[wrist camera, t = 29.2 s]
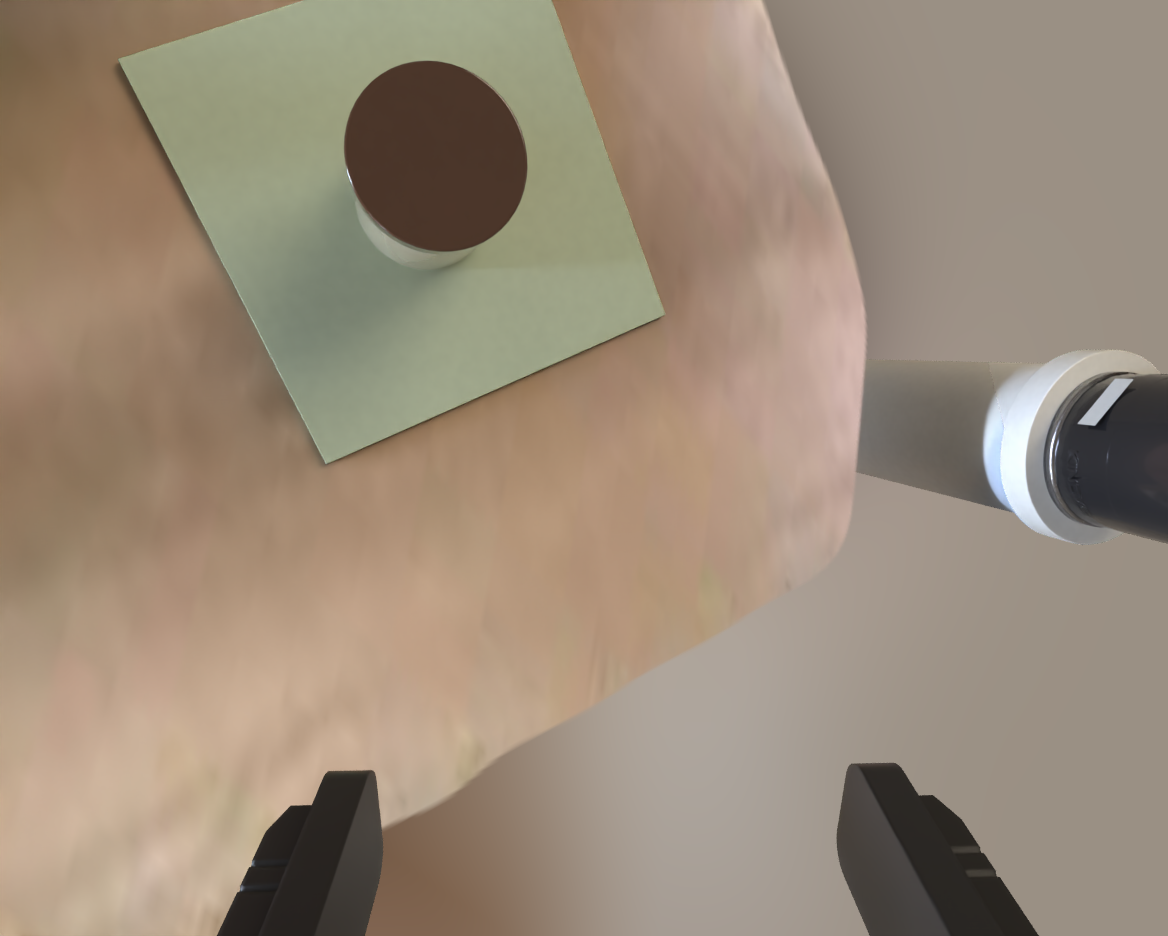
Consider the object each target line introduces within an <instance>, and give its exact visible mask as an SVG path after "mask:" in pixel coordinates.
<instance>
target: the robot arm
mask: <svg viewBox="0 0 1168 936" xmlns="http://www.w3.org/2000/svg"><path fill="white" fill-rule="evenodd" d="M1043 470H1044V478H1045V483H1046V486H1047V490H1048V492H1049V495H1050V497H1051V499H1052V501H1053V502H1054V504H1055V505H1056V507H1057V508H1058V509H1059V510H1060V511H1061V512H1062V513H1063V514H1064V515H1065V516H1066V517H1068V518H1069V519H1071V520H1073V521H1075V522H1077V523H1080V524H1085V525H1089V526H1093V527H1100V528H1108V529H1112V530H1116V531H1120V532H1124V533H1128V534H1132V535H1136V536H1140V537H1143V538H1147V539H1151V540H1155V541H1159V542H1163V543H1167V544H1168V374H1137V373H1133V372H1105V373H1101V374H1098V375H1095V376H1093V377H1091V378H1089V379H1087V380H1086V381H1084V382H1082V383H1081V384H1080V385H1078V386H1077V387H1076V388H1075V389H1074V390H1073V391H1072V392H1071V393H1070V394H1069V395H1068V396H1067V397H1066V399H1065V400H1064V401H1063V403H1062V404H1061V406H1060V407H1059V409H1058V410H1057V412H1056V414H1055V416H1054V418H1053V420H1052V422H1051V425H1050V427H1049V430H1048V433H1047V437H1046V441H1045V446H1044V454H1043ZM837 850H838V856H839V862H840V866H841V869H842V872H843V874H844V877H845V879H846V881H847V884H848V886H849V889H850V891H851V893H852V896H853V898H854V900H855V903H856V905H857V907H858V910H859V912H860V914H861V916H862V919H863V921H864V923H865V926H866V928H867V930H868V933H869V935H870V936H1039V935H1038V934H1037V932H1036V931H1035V930H1034V928H1033V926H1032V925H1031V923H1030V922H1029V920H1028V919H1027V917H1026V916H1025V915H1024V913H1023V911H1022V910H1021V908H1020V907H1019V905H1018V904H1017V902H1016V901H1015V899H1014V898H1013V897H1012V895H1011V894H1010V892H1009V890H1008V889H1007V887H1006V886H1005V884H1004V883H1003V881H1002V880H1001V878H1000V877H997V876H996V871H995V869H994V868H993V866H992V865H991V863H990V862H989V860H988V859H987V857H986V856H985V854H984V853H981V851H980V847H979V845H978V844H977V842H976V841H975V839H974V838H973V836H972V835H971V833H970V832H969V830H968V829H967V827H966V826H965V824H964V822H963V821H962V820H961V819H960V818H959V817H958V816H957V815H956V814H954V813H953V812H952V811H951V810H950V809H948V808H947V807H946V806H945V805H944V804H943V803H942V802H940V801H939V800H938V799H937V798H935V797H934V796H933V795H923V796H919V795H918V794H917V792H916V791H915V789H914V787H913V786H912V784H911V783H910V781H909V779H908V778H907V776H906V774H905V773H904V771H903V770H902V768H901V767H900V766H899V765H897V764H896V763H866V764H851V765H850V766H849V767H848V769H847V773H846V778H845V784H844V791H843V797H842V803H841V810H840V816H839V823H838V828H837ZM382 856H383V838H382V828H381V819H380V810H379V800H378V791H377V781H376V776H375V773H374V771H372V770H365V771H328V772H327V773H326V774H325V776H324V778H323V780H322V782H321V784H320V787H319V789H318V792H317V794H316V797H315V799H314V801H313V804H312V805H302V806H290V807H289V808H288V809H287V810H286V811H285V812H284V813H283V814H282V815H281V816H280V817H279V819H278V820H277V821H276V822H275V823H274V824H273V825H272V826H271V827H270V828H269V829H268V830H267V831H266V832H265V835H264V837H263V839H262V841H261V843H260V845H259V847H258V849H257V852H256V854H255V856H254V858H253V860H252V866H251V867H249V869H248V871H247V873H246V875H245V877H244V879H243V881H242V884H241V886H240V892H237V894H236V896H235V898H234V901H233V903H232V905H231V907H230V909H229V911H228V913H227V916H226V918H225V920H224V922H223V924H222V926H221V928H220V930H219V933H218V935H217V936H365V933H366V929H367V925H368V922H369V918H370V914H371V910H372V906H373V903H374V899H375V895H376V891H377V888H378V884H379V879H380V874H381V867H382Z"/></svg>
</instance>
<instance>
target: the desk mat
mask: <svg viewBox="0 0 1168 936" xmlns="http://www.w3.org/2000/svg"><path fill="white" fill-rule="evenodd" d="M425 60H427V61H440V62H445V63H450V64H453V65H456V66H459V67H462V68H464V69H466V70H468V71H470V72H472V73H474V74H476V75H477V76H479V77H480V78H482V79H483V80H485V81H486V82H487V83H488V84H489V85H491V86H492V87H493V88H494V89H495V90H496V91H497V92H498V93H499V94H500V95H501V96H502V98H503V99H504V100H505V102H506V103H507V104H508V106H509V107H510V108H511V110H512V112H513V114H514V115H515V117H516V119H517V121H518V124H519V126H520V128H521V131H522V134H523V137H524V141H525V145H526V151H527V163H528V170H527V180H526V185H525V190H524V193H523V196H522V199H521V202H520V204H519V206H518V208H517V210H516V212H515V213H514V215H513V216H512V218H511V219H510V221H509V222H508V223H507V224H506V225H505V226H504V227H503V229H502V230H500V231H499V232H498V233H497V234H496V235H495V236H494V237H492V238H491V239H490V240H488V241H487V242H485V243H484V244H482V245H480V246H478V247H477V248H476V249H475V250H474V251H473V252H471V253H470V254H469V255H468V256H467V257H466V258H464V259H463V260H461V261H459V262H458V263H456V264H453V265H451V266H448V267H445V268H441V269H435V270H422V269H415V268H411V267H407V266H404V265H402V264H399V263H397V262H395V261H394V260H392V259H390V258H389V257H387V256H386V255H384V254H383V253H382V252H381V251H380V250H379V249H378V248H376V247H375V245H374V244H373V243H372V242H371V241H370V239H369V238H368V236H367V235H366V233H365V232H364V230H363V228H362V226H361V224H360V222H359V219H358V216H357V212H356V208H355V202H354V194H353V192H352V189H351V186H350V183H349V180H348V176H347V171H346V167H345V158H344V135H345V129H346V124H347V121H348V117H349V114H350V111H351V109H352V107H353V105H354V103H355V101H356V100H357V98H358V97H359V95H360V94H361V92H362V91H363V90H364V89H365V88H366V87H367V86H368V84H369V83H370V82H371V81H373V80H374V79H375V78H376V77H378V76H379V75H380V74H382V73H384V72H385V71H387V70H389V69H391V68H393V67H396V66H398V65H401V64H404V63H409V62H413V61H425ZM118 61H119V63H120V65H121V67H122V68H123V70H124V72H125V74H126V76H127V78H128V80H129V82H130V84H131V86H132V88H133V90H134V92H135V94H136V96H137V98H138V100H139V102H140V103H141V105H142V107H143V109H144V111H145V113H146V115H147V117H148V119H149V121H150V123H151V125H152V127H153V129H154V131H155V133H156V135H157V136H158V138H159V140H160V142H161V144H162V146H163V148H164V150H165V152H166V154H167V156H168V158H169V160H170V162H171V164H172V166H173V168H174V170H175V171H176V173H177V175H178V177H179V179H180V181H181V183H182V185H183V187H184V189H185V191H186V193H187V195H188V197H189V199H190V201H191V203H192V205H193V206H194V208H195V210H196V212H197V214H198V216H199V218H200V220H201V222H202V224H203V226H204V228H205V230H206V232H207V234H208V236H209V238H210V240H211V241H212V243H213V245H214V247H215V249H216V251H217V253H218V255H219V257H220V259H221V261H222V263H223V265H224V267H225V269H226V271H227V273H228V275H229V276H230V278H231V280H232V282H233V284H234V286H235V288H236V290H237V292H238V294H239V296H240V298H241V300H242V302H243V304H244V306H245V308H246V310H247V311H248V313H249V315H250V317H251V319H252V321H253V323H254V325H255V327H256V329H257V331H258V333H259V335H260V337H261V339H262V341H263V343H264V345H265V346H266V348H267V350H268V352H269V354H270V356H271V358H272V360H273V362H274V364H275V366H276V368H277V370H278V372H279V374H280V376H281V378H282V380H283V381H284V383H285V385H286V387H287V389H288V391H289V393H290V395H291V397H292V399H293V401H294V403H295V405H296V407H297V409H298V411H299V413H300V415H301V416H302V418H303V420H304V422H305V424H306V426H307V428H308V430H309V432H310V434H311V436H312V438H313V440H314V442H315V444H316V446H317V448H318V450H319V451H320V453H321V455H322V457H323V459H324V461H325V463H326V464H328V463H330V462H333V461H335V460H337V459H340V458H342V457H344V456H346V455H349V454H351V453H353V452H355V451H358V450H360V449H362V448H364V447H367V446H369V445H371V444H374V443H376V442H378V441H380V440H383V439H385V438H387V437H389V436H392V435H394V434H396V433H399V432H401V431H403V430H405V429H408V428H410V427H412V426H414V425H417V424H419V423H421V422H423V421H426V420H428V419H430V418H433V417H435V416H437V415H439V414H442V413H444V412H446V411H448V410H451V409H453V408H455V407H457V406H460V405H462V404H464V403H467V402H469V401H471V400H473V399H476V398H478V397H480V396H482V395H485V394H487V393H489V392H491V391H494V390H496V389H498V388H501V387H503V386H505V385H507V384H510V383H512V382H514V381H516V380H519V379H521V378H523V377H525V376H528V375H530V374H532V373H535V372H537V371H539V370H541V369H544V368H546V367H548V366H550V365H553V364H555V363H557V362H560V361H562V360H564V359H566V358H569V357H571V356H573V355H575V354H578V353H580V352H582V351H584V350H587V349H589V348H591V347H594V346H596V345H598V344H600V343H603V342H605V341H607V340H609V339H612V338H614V337H616V336H618V335H621V334H623V333H625V332H628V331H630V330H632V329H634V328H637V327H639V326H641V325H643V324H646V323H648V322H650V321H652V320H655V319H657V318H659V317H662V316H664V315H665V312H664V309H663V306H662V304H661V301H660V298H659V295H658V293H657V290H656V287H655V284H654V281H653V279H652V276H651V273H650V270H649V268H648V265H647V262H646V259H645V257H644V254H643V251H642V248H641V246H640V243H639V240H638V237H637V234H636V232H635V229H634V226H633V223H632V221H631V218H630V215H629V212H628V210H627V207H626V204H625V201H624V199H623V196H622V193H621V190H620V187H619V185H618V182H617V179H616V176H615V174H614V171H613V168H612V165H611V163H610V160H609V157H608V154H607V152H606V149H605V146H604V143H603V140H602V138H601V135H600V132H599V129H598V127H597V124H596V121H595V118H594V116H593V113H592V110H591V107H590V105H589V102H588V99H587V96H586V93H585V91H584V88H583V85H582V82H581V80H580V77H579V74H578V71H577V69H576V66H575V63H574V60H573V58H572V55H571V52H570V49H569V46H568V44H567V41H566V38H565V35H564V33H563V30H562V27H561V24H560V22H559V19H558V16H557V13H556V11H555V8H554V5H553V2H552V0H303V1H300V2H297V3H294V4H291V5H287V6H284V7H281V8H278V9H275V10H272V11H268V12H265V13H262V14H259V15H256V16H252V17H249V18H246V19H243V20H240V21H237V22H233V23H230V24H227V25H224V26H221V27H217V28H214V29H211V30H208V31H205V32H202V33H198V34H195V35H192V36H189V37H186V38H183V39H179V40H176V41H173V42H170V43H167V44H163V45H160V46H157V47H154V48H151V49H148V50H144V51H141V52H138V53H135V54H132V55H129V56H125V57H122V58H119V59H118Z"/></svg>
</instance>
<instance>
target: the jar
mask: <svg viewBox="0 0 1168 936" xmlns="http://www.w3.org/2000/svg"><path fill="white" fill-rule="evenodd" d="M344 158H345V167H346V171H347V176H348V180H349V183H350V186H351V189H352V192H353V194H354V202H355V208H356V212H357V216H358V219H359V222H360V224H361V226H362V228H363V230H364V232H365V233H366V235H367V236H368V238H369V239H370V241H371V242H372V243H373V244H374V245H375V247H376V248H378V249H379V250H380V251H381V252H382V253H383V254H384V255H386V256H387V257H389V258H390V259H392V260H394V261H395V262H397V263H399V264H402V265H404V266H407V267H411V268H415V269H422V270H435V269H441V268H445V267H448V266H451V265H453V264H456V263H458V262H459V261H461V260H463V259H464V258H466V257H467V256H468V255H469V254H470V253H471V252H473V251H474V250H475V249H476V248H477V247H478V246H480V245H482V244H484V243H485V242H487V241H488V240H490V239H491V238H492V237H494V236H495V235H496V234H497V233H498V232H499V231H500V230H502V229H503V227H504V226H505V225H506V224H507V223H508V222H509V221H510V219H511V218H512V216H513V215H514V213H515V212H516V210H517V208H518V206H519V204H520V202H521V199H522V196H523V193H524V190H525V185H526V180H527V170H528V163H527V151H526V145H525V141H524V137H523V134H522V131H521V128H520V126H519V124H518V121H517V119H516V117H515V115H514V114H513V112H512V110H511V108H510V107H509V106H508V104H507V103H506V102H505V100H504V99H503V98H502V96H501V95H500V94H499V93H498V92H497V91H496V90H495V89H494V88H493V87H492V86H491V85H489V84H488V83H487V82H486V81H485V80H483V79H482V78H480V77H479V76H477V75H476V74H474V73H472V72H470V71H468V70H466V69H464V68H462V67H459V66H456V65H453V64H450V63H445V62H440V61H427V60H425V61H413V62H409V63H404V64H401V65H398V66H396V67H393V68H391V69H389V70H387V71H385V72H384V73H382V74H380V75H379V76H378V77H376V78H375V79H374V80H373V81H371V82H370V83H369V84H368V86H367V87H366V88H365V89H364V90H363V91H362V92H361V94H360V95H359V97H358V98H357V100H356V101H355V103H354V105H353V107H352V109H351V111H350V114H349V117H348V121H347V124H346V129H345V135H344Z"/></svg>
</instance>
